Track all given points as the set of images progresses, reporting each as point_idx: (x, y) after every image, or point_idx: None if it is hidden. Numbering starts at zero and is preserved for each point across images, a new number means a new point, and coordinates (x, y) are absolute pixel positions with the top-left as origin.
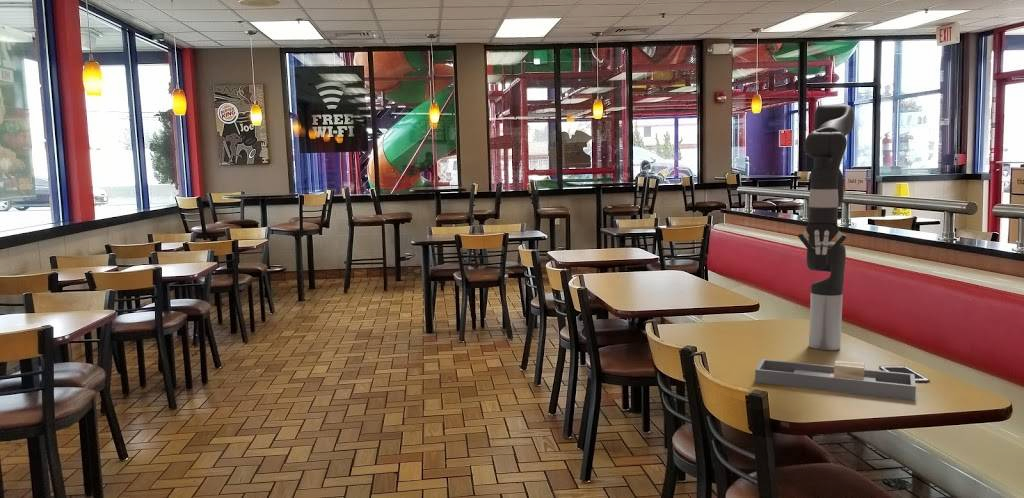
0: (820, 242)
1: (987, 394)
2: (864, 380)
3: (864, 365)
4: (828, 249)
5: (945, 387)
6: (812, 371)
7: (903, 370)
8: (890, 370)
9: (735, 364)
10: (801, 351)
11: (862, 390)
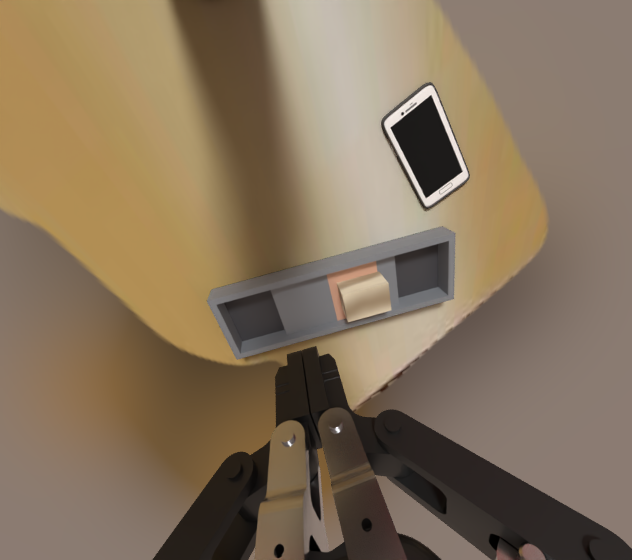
0: (310, 532)
1: (540, 195)
2: (388, 313)
3: (388, 287)
4: (377, 472)
5: (487, 194)
6: (299, 284)
7: (428, 128)
8: (406, 146)
9: (147, 278)
10: (179, 57)
11: None
